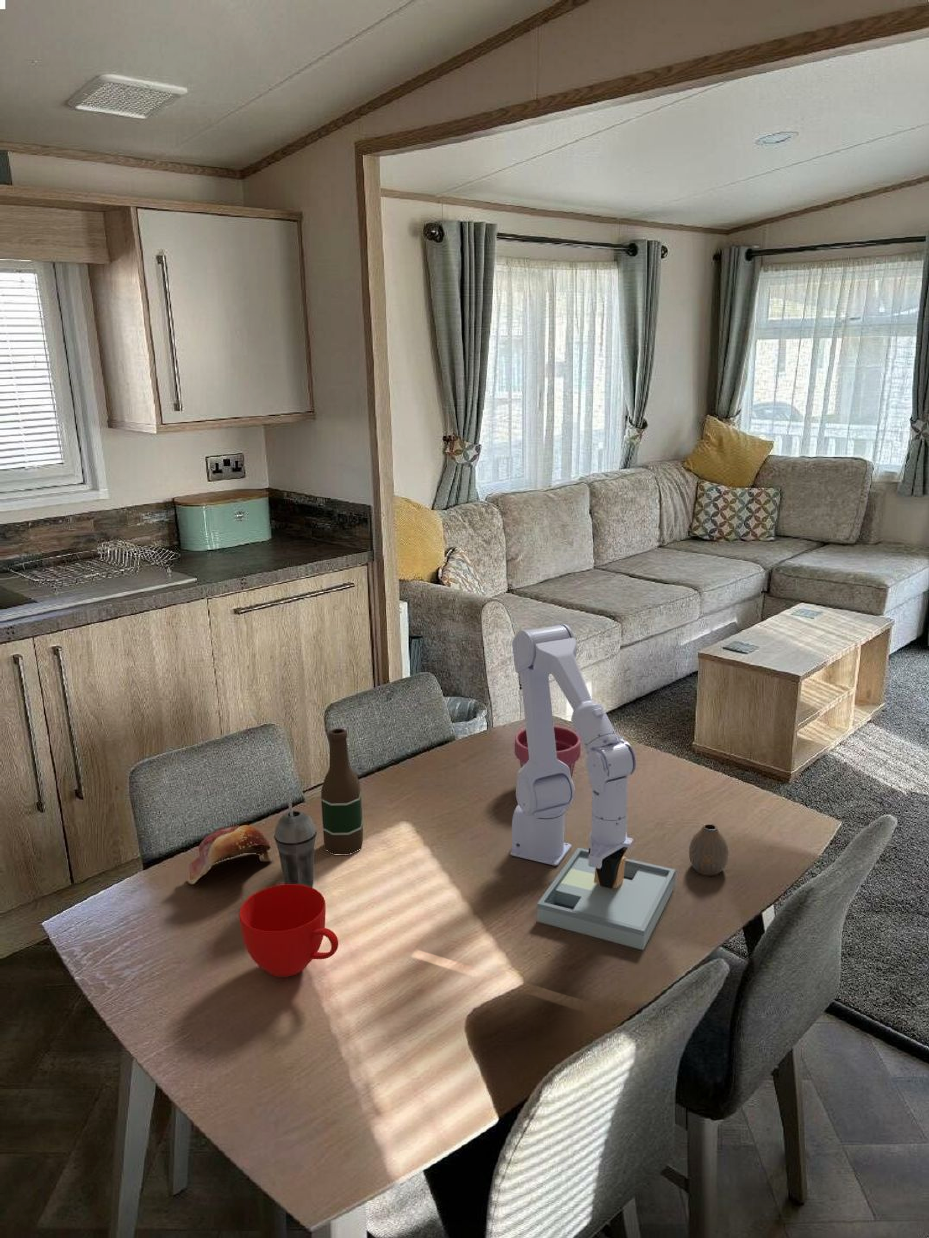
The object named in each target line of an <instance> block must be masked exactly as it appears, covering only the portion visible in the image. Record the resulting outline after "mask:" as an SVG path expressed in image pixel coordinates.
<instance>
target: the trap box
mask: <svg viewBox="0 0 929 1238" xmlns="http://www.w3.org/2000/svg"><path fill="white" fill-rule="evenodd" d="M588 860H589V849H586V848H582V847H577V849H576V850H575V852H573V854H572V855H571V857H570V858H569V860H568V861H567V862H566V864H565V865H564V866H563V868H562V869H561V870H560V872H559V873H558V875H557V876H556V877H555V878H554V880H553V881H552V883H551V884H550V885H549V887H548V888H547V889H546V891H545V892H544V893H543V895H542V896H541V898H540V899H539V900H538V901H537V903H536V907H537V908H536V909H537V912H536V922H537V923H542V924H545V925H549V926H552V927H556V928H560V929H563V930H564V929H565V930H568V931H572V932H575V933H579V934H581V935H586V936H589V937H592V938H593V937H594V938H597V939H602V940H604V941H609V942H612V943H615V944H620V945H623V946H627V947H630V948H635V949H638V950H642V951H644V949H645V948H646V947H647V944H648V941H649V939H650V937H651V935H652V933H653V932H654V930H655V927H656V926H657V923H658V921H659V920H660V917H661V915H662V913H664V909H665V908H666V905H667V903H668V901H669V899H670V898H671V896H672V895H671V894H672V893H673V891H674V889H675V887H676V872H677V871H676V869H675V868H671V867H666V866H661V865H658V864H653V863H648V862H646V861H645V862H644V861H641V860H640V861H639V860H635V859H632V858H627V857H626V860H625V869H624V878H623V883H622V884H621V885H620V886H618V887H617V888H614V887H612V888H606V887H602V886H600V884H597V883H594V876H595V868H594V867H590V866H588Z"/></svg>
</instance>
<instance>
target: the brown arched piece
mask: <svg viewBox="0 0 929 1238" xmlns="http://www.w3.org/2000/svg"><path fill="white" fill-rule="evenodd" d="M270 849H271V845H270V842H269V841H268V840H267V838H266V837H265V836H264V834H263V833H262V832H261V831H260V830H259V829H257V828H256V827H254V826H251V825H249V824H244V825H238V824H234V825H233V826H229V827H219V828H217V829H216V831H213V832H211V833H209V834H208V835H207V836H205V838H203V839H202V841H201V842H200V844H199V848H198V852H199V856H198V857H197V858H196V859H195V860H193V861H192V862H190V864H189V867H188V869H189V871H188V872H189V875H190V881H191V882H192V883H190V885H194V884H195V883H196V882H198V880H199V879H200V878H201V877H202V876H204V875H206V874H207V873H208V871H209V870H211V868H212V866H213V865H214V864H217V863H216V862H219V861H221V862H223V861H225V860H224V859H226V860H228V859H227V858H230V859H232V858H231V857H233V858H235V857H238V856H241V855H244V854H243V853H256V854H255V855H258V854H260V855H259V857H258V859H259V860H260V862H271V861H270V858H271V857H270V858H269V852H268V851H269V850H270ZM240 854H241V855H240ZM237 855H238V856H237ZM222 860H223V861H222ZM219 863H220V862H219ZM210 865H211V866H210Z"/></svg>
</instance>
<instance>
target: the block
mask: <svg viewBox="0 0 929 1238" xmlns="http://www.w3.org/2000/svg"><path fill="white" fill-rule="evenodd" d="M626 858H627V856H624V855H623V857H622V860H621V862H620V865H619V869H618V873H617V877H616V880H615V883H614V886H613V887H614V888H617V887H618V886H620V885H621V884H622V883H623V878H624V869H625V860H626ZM594 883H597V884H600V883H599V879H598V875H597V871H596V868H595V876H594Z"/></svg>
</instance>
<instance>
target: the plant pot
mask: <svg viewBox="0 0 929 1238" xmlns="http://www.w3.org/2000/svg"><path fill="white" fill-rule="evenodd" d="M554 734H555V744H556V753H557V759H558V760H560V761H562V762H563V763H565V764H566V765H567V766H568V767H569V770H570V775H571V779H572V780H573V774H574V770H575V765H576V762H577V761H578V760H579V759H580V757H581V750H582V747H581V744H582V742H581V740H580V738H579V736H578V733H577V732H575V731H573V730H571V729H569V728H565V727H562V726H556V725H554ZM514 756H515V757H516V759H518V761H519V764H520V765H519V766H520V769H521V768H522V767H523V766H524V765H525V764H526V763H527V762H528V760H529V753H528V743H527V734H526V728H524V729H521V730H520V731H518V732H517V733H516V735H515V737H514Z"/></svg>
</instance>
